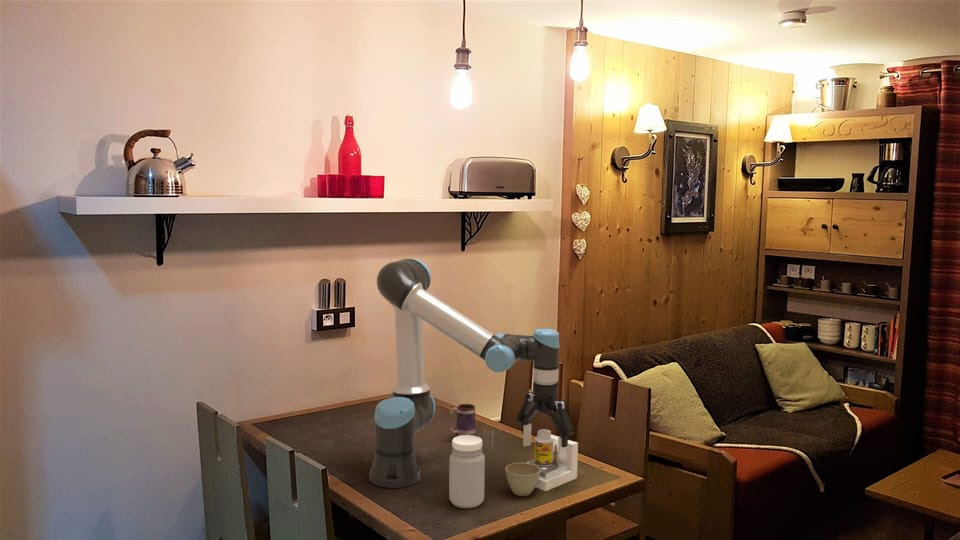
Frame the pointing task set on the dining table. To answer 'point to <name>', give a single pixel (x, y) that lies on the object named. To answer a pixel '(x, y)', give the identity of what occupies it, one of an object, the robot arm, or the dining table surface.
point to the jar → (466, 472)
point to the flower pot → (522, 477)
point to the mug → (464, 420)
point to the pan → (550, 469)
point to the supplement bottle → (543, 448)
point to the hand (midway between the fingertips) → (544, 451)
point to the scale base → (568, 460)
